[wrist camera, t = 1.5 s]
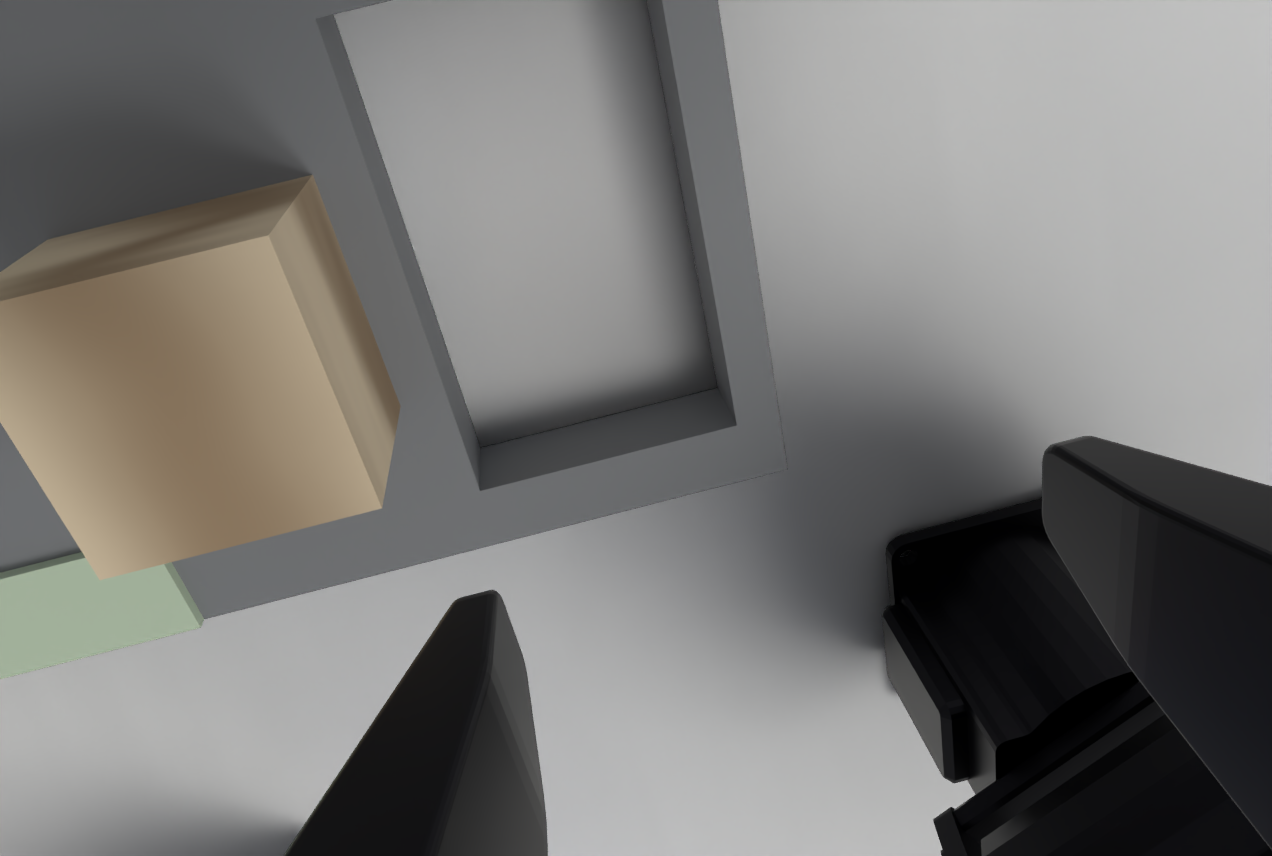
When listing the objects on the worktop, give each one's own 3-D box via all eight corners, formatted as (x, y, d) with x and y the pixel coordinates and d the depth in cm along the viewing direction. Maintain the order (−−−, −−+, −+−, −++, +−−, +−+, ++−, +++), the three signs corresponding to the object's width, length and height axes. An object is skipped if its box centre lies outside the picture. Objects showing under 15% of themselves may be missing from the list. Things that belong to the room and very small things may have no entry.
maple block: (312, 174, 17) (268, 234, 14) (400, 406, 20) (381, 507, 16) (47, 239, 17) (-66, 317, 14) (169, 465, 19) (99, 580, 16)
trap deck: (670, -164, 17) (695, -178, 15) (764, 429, 23) (791, 475, 21) (-851, 197, 16) (-1038, 234, 14) (-332, 710, 23) (-411, 784, 21)
